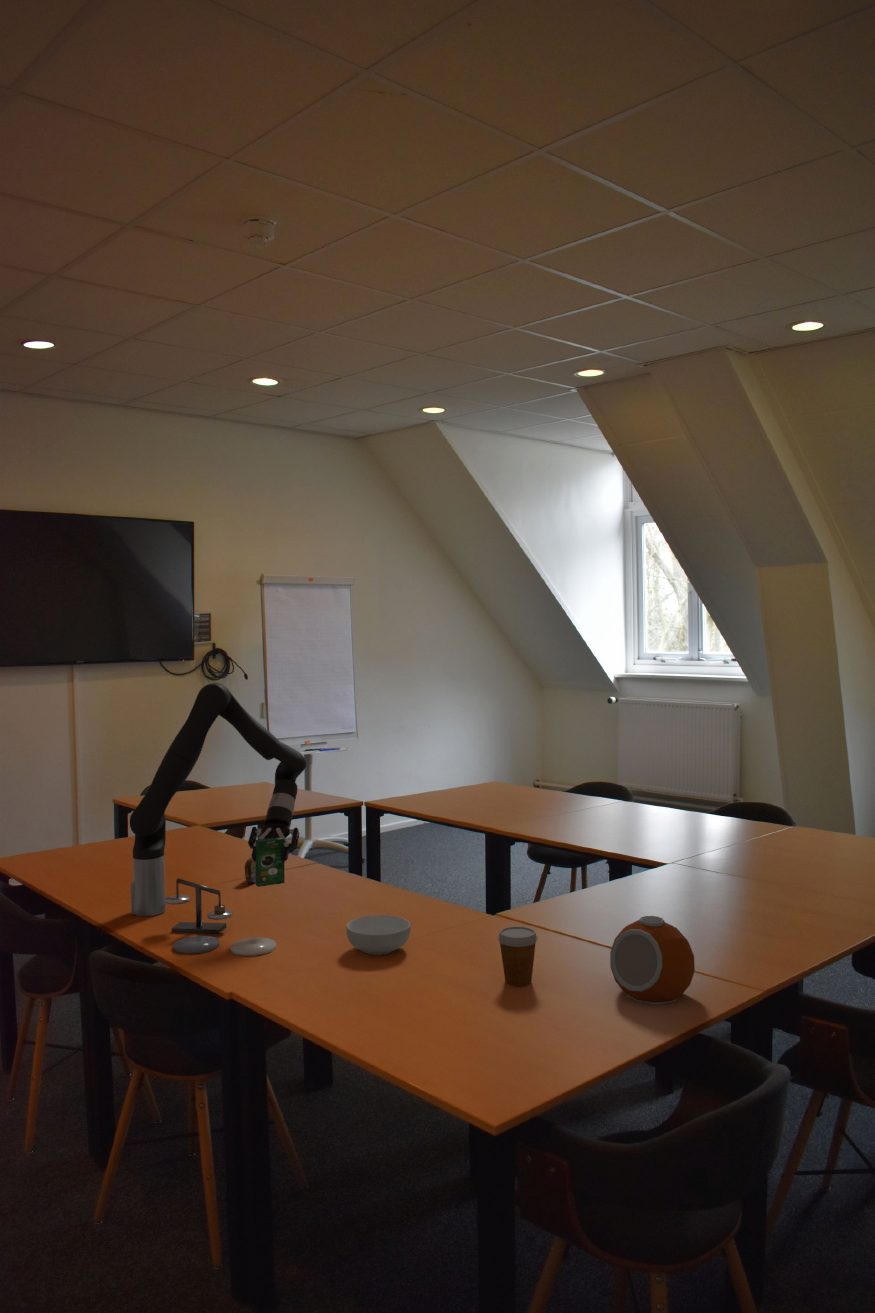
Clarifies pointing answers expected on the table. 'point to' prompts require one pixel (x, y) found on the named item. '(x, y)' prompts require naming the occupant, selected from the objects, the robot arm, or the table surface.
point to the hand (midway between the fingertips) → (268, 860)
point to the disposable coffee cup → (517, 954)
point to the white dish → (253, 946)
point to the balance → (199, 911)
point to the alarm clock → (652, 961)
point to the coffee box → (269, 861)
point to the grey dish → (196, 945)
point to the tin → (250, 871)
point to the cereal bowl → (378, 933)
